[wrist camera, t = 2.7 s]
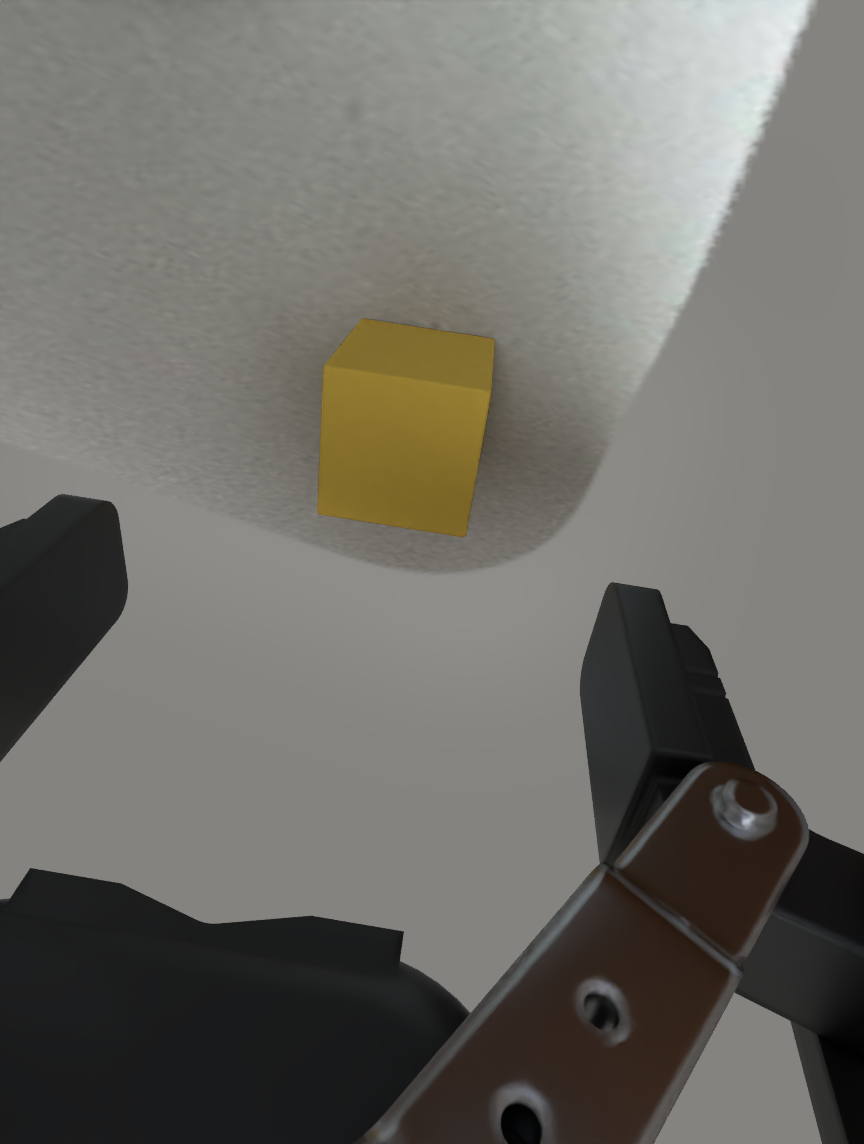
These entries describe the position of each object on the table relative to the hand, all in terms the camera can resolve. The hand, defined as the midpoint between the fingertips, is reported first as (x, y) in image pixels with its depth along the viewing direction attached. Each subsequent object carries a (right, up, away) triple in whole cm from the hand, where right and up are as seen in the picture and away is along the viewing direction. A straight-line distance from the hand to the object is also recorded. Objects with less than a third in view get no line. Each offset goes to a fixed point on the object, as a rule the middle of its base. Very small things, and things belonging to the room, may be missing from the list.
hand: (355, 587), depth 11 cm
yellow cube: (+1, +6, +10) cm, 12 cm away
